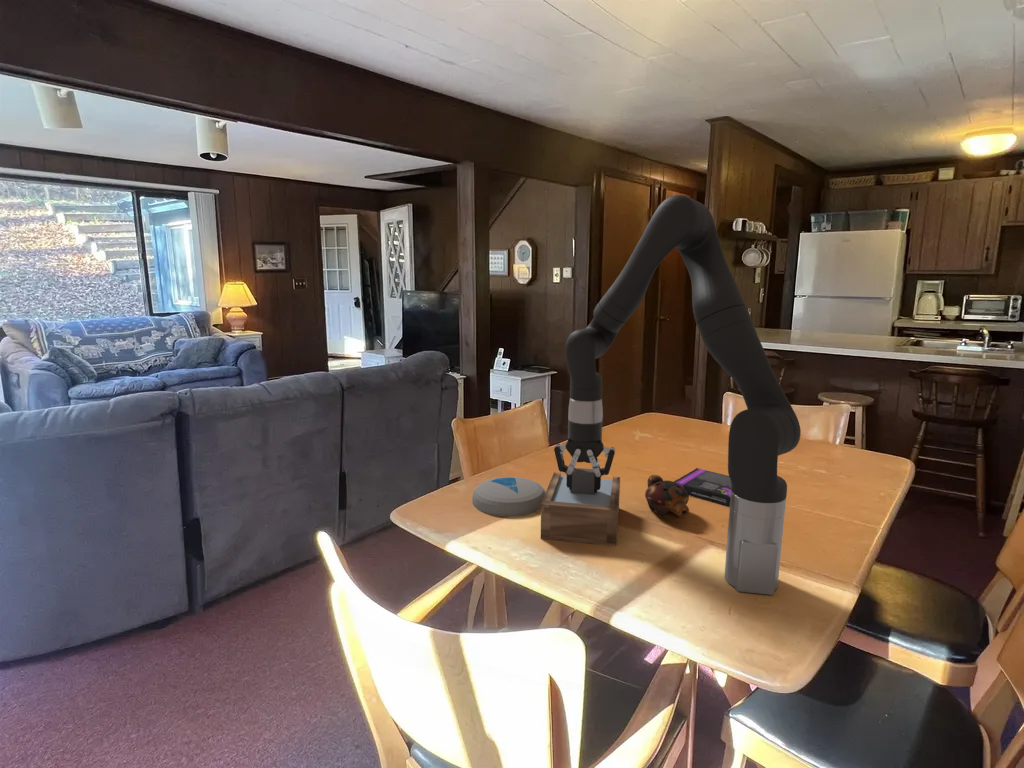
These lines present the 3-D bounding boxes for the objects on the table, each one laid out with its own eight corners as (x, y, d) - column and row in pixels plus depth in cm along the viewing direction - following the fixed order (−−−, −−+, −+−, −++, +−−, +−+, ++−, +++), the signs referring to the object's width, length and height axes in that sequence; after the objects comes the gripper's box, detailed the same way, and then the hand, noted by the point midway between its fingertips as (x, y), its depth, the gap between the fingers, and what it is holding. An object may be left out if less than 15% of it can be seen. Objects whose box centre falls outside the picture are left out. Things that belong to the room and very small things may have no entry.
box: (671, 494, 153) (745, 513, 140) (671, 481, 152) (746, 499, 139) (696, 479, 163) (767, 496, 149) (696, 467, 162) (768, 483, 149)
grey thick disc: (486, 522, 134) (486, 502, 133) (462, 494, 151) (462, 475, 150) (559, 510, 141) (559, 490, 140) (528, 484, 158) (528, 466, 157)
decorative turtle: (664, 499, 147) (665, 469, 145) (703, 523, 133) (706, 490, 132) (630, 505, 144) (632, 474, 142) (668, 530, 130) (670, 496, 128)
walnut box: (616, 545, 122) (617, 510, 121) (540, 538, 126) (540, 504, 124) (619, 508, 142) (620, 477, 140) (553, 502, 145) (553, 472, 143)
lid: (612, 514, 124) (613, 487, 122) (547, 508, 126) (547, 482, 125) (615, 483, 141) (616, 460, 140) (558, 479, 144) (558, 456, 143)
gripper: (550, 420, 128) (550, 493, 131) (617, 424, 125) (614, 498, 128) (555, 412, 135) (554, 482, 138) (618, 415, 132) (615, 486, 136)
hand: (583, 489), depth 133 cm, fingers closed on lid, 5 cm apart
